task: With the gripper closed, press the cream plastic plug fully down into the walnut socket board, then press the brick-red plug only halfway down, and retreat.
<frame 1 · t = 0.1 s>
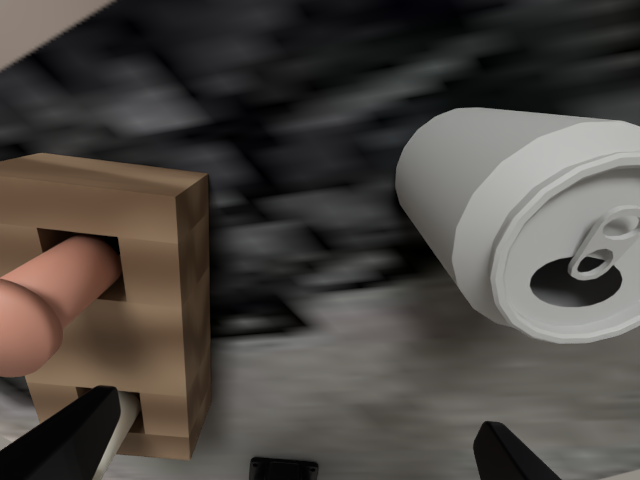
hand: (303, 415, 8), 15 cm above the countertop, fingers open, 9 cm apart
cream plug: (88, 446, 20), point 7 cm above the countertop, slide at 0.0 cm
can: (451, 171, 20), on the countertop
brick plug: (49, 292, 15), point 7 cm above the countertop, slide at 0.0 cm
socket board: (141, 299, 24), on the countertop
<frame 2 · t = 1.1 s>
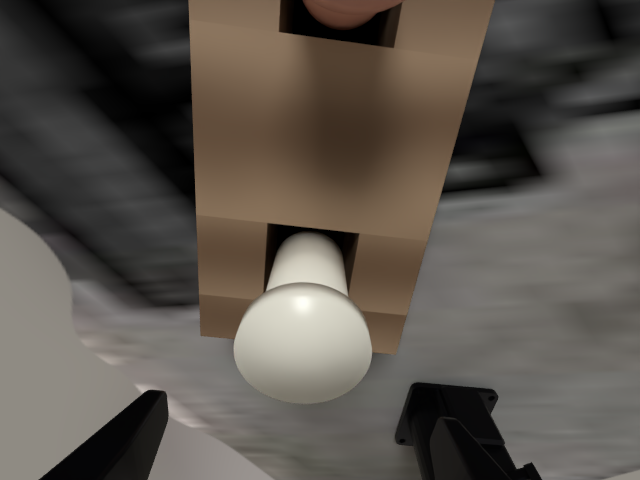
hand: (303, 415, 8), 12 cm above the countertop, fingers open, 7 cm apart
cream plug: (306, 298, 13), point 7 cm above the countertop, slide at 0.0 cm
socket board: (323, 131, 17), on the countertop
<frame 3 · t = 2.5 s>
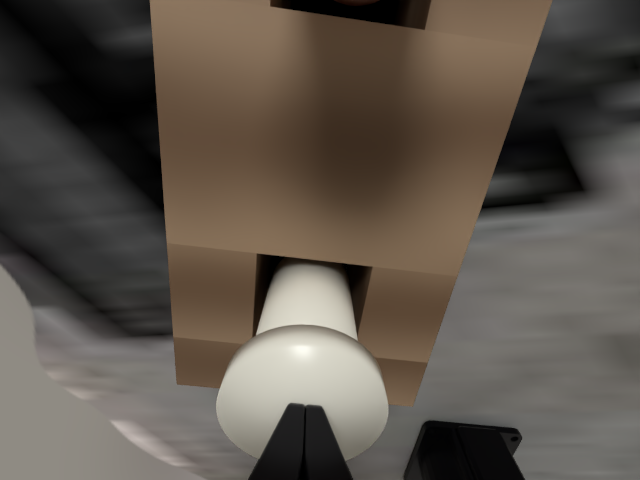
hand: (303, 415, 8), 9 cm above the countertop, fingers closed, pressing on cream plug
cream plug: (307, 332, 11), point 6 cm above the countertop, slide at 1.0 cm, touching gripper
socket board: (326, 136, 14), on the countertop
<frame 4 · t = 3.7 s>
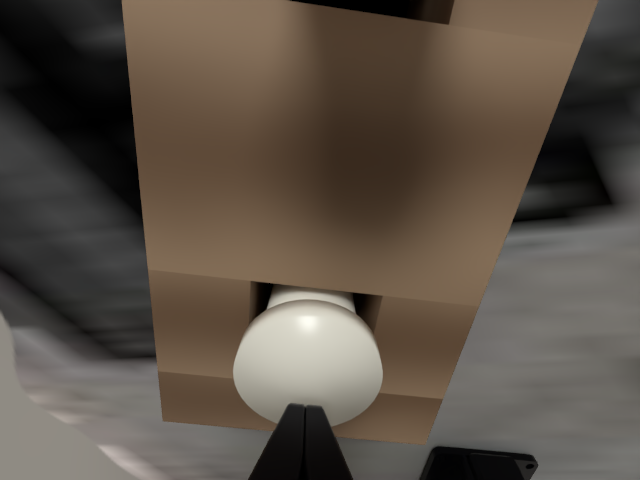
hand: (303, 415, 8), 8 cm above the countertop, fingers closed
cream plug: (311, 313, 12), point 4 cm above the countertop, slide at 3.9 cm
socket board: (329, 145, 13), on the countertop
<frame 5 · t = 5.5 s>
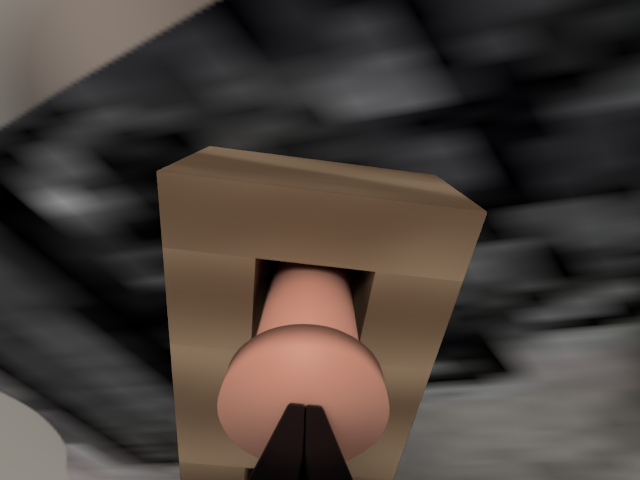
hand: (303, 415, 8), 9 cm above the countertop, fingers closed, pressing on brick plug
brick plug: (308, 332, 11), point 6 cm above the countertop, slide at 1.4 cm, touching gripper
socket board: (301, 339, 18), on the countertop
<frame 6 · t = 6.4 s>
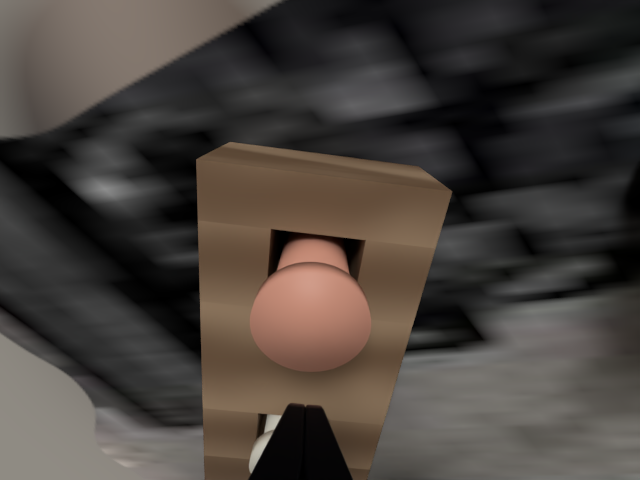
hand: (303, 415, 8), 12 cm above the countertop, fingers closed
cream plug: (292, 417, 20), point 4 cm above the countertop, slide at 3.9 cm
brick plug: (312, 281, 14), point 5 cm above the countertop, slide at 1.9 cm
socket board: (305, 310, 21), on the countertop
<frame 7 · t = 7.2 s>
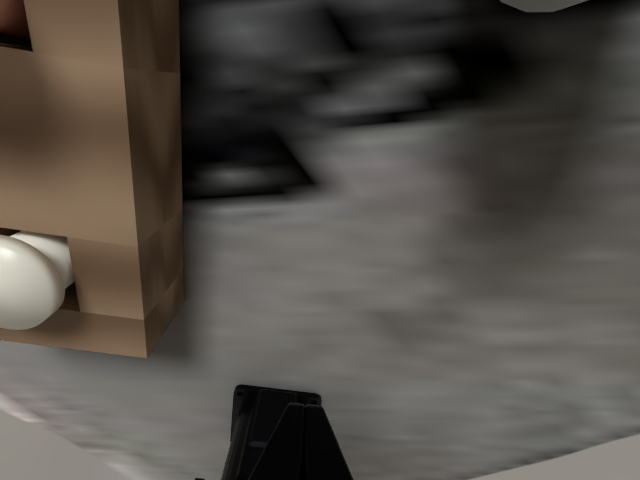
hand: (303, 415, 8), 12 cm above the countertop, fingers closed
cream plug: (52, 255, 16), point 4 cm above the countertop, slide at 3.9 cm
socket board: (83, 130, 17), on the countertop
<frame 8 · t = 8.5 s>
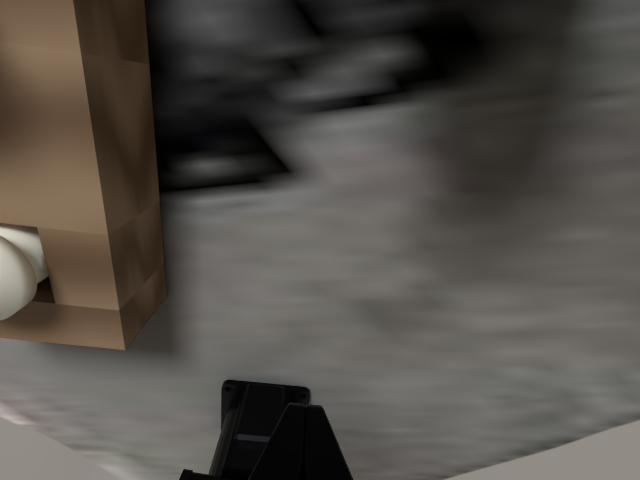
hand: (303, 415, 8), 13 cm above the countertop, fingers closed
cream plug: (27, 248, 16), point 4 cm above the countertop, slide at 3.9 cm
socket board: (58, 125, 17), on the countertop
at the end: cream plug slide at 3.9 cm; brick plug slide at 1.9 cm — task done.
